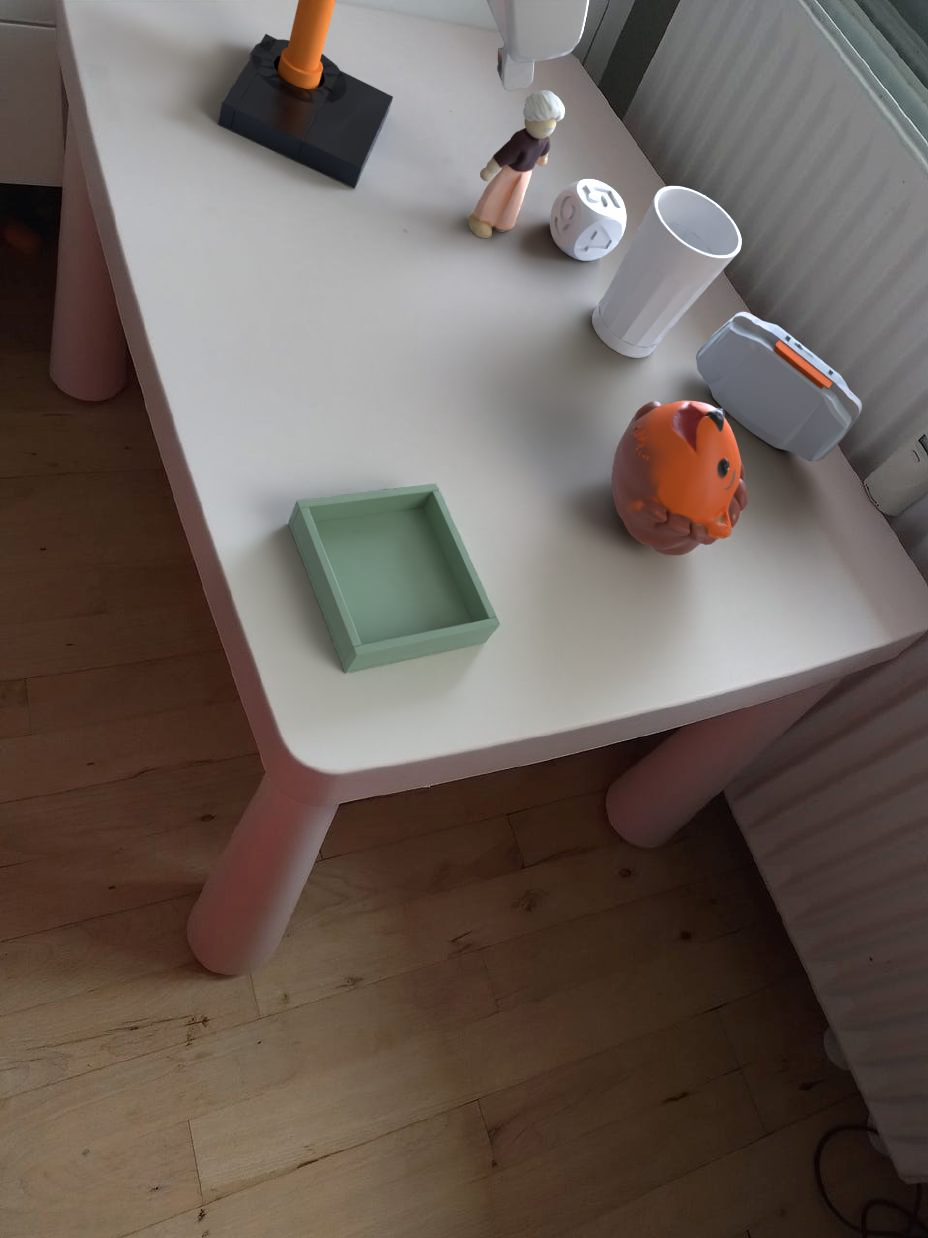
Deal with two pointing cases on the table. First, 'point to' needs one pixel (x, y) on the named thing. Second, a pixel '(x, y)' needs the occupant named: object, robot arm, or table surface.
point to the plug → (306, 44)
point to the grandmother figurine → (516, 166)
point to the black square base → (306, 114)
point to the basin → (391, 575)
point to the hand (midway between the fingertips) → (493, 30)
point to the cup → (665, 270)
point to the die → (587, 219)
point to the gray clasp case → (777, 387)
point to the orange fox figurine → (678, 476)
